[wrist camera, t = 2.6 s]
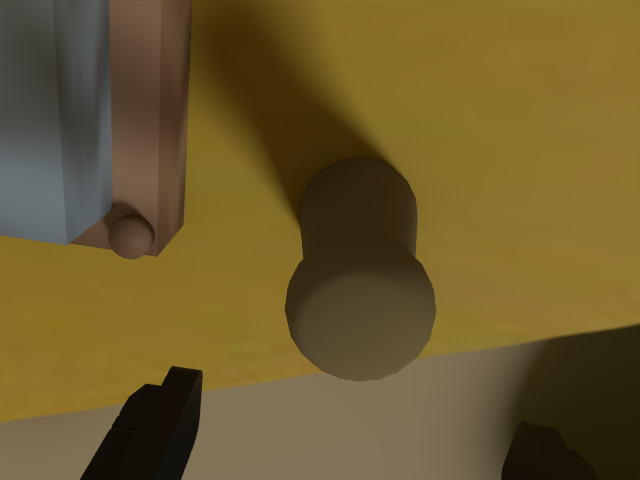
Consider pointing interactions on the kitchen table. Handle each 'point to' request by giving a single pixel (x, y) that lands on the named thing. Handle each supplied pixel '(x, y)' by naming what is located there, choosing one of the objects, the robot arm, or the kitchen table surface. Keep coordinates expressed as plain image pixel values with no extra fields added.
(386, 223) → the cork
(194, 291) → the kitchen table surface
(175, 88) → the knobbed square tray
